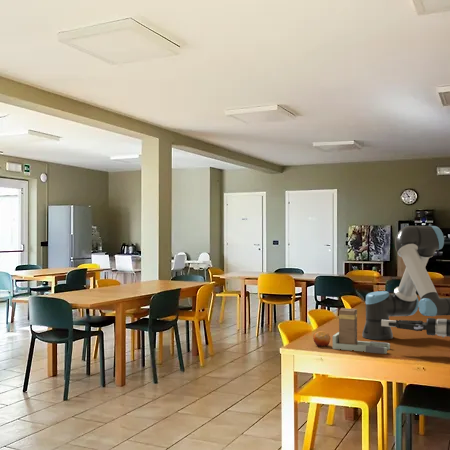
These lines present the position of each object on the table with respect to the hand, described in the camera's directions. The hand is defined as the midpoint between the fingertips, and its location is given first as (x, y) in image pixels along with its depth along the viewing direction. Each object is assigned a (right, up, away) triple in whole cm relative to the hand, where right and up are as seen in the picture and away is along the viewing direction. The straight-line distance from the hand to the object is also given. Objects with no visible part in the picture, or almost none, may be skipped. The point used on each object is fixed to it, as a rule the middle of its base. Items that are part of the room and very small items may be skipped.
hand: (381, 322), depth 254 cm
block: (-14, -13, +7) cm, 20 cm away
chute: (-8, -13, +4) cm, 16 cm away
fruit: (-26, -13, +11) cm, 31 cm away
